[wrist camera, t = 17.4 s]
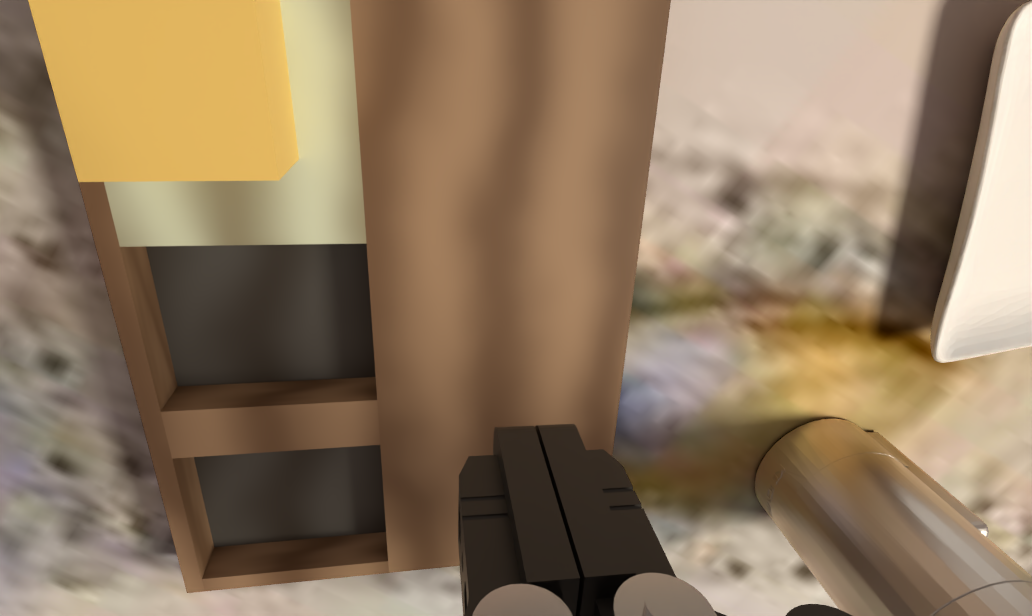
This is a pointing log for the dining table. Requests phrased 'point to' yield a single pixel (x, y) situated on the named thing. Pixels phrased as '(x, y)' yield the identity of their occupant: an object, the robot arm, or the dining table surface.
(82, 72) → the block
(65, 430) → the dining table surface
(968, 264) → the salad plate
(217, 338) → the wooden compartment tray
